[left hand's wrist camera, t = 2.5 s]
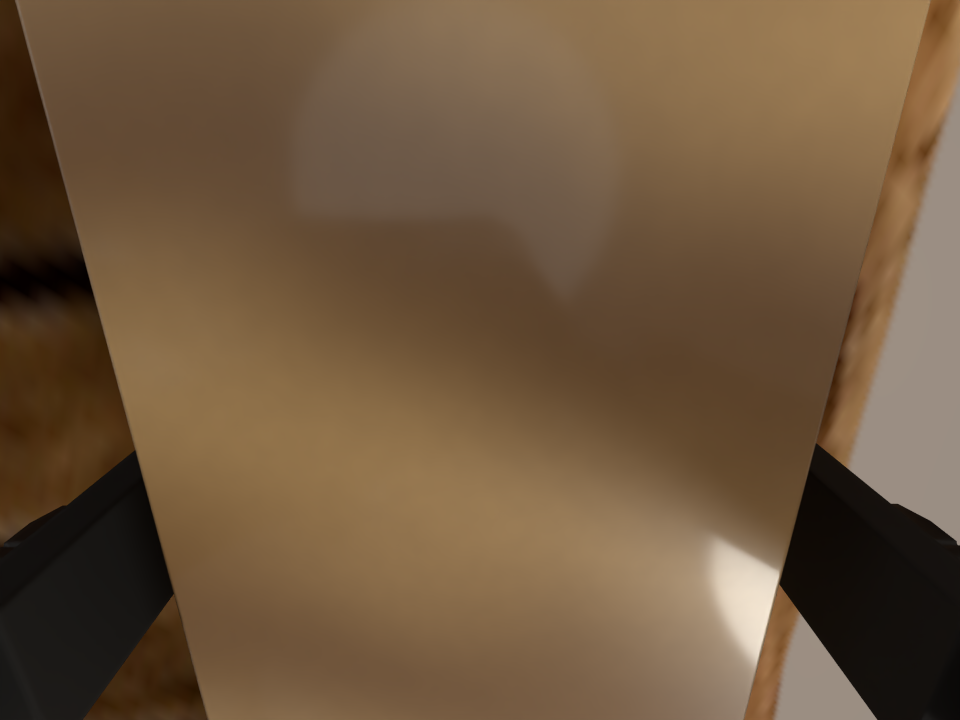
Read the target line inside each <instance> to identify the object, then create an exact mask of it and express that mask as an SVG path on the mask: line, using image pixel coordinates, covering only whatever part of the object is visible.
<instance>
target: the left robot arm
mask: <svg viewBox="0 0 960 720" xmlns="http://www.w3.org/2000/svg"><path fill="white" fill-rule="evenodd" d="M779 584H780V586H781V587H782V589H783V590H784V591H785V593H786V594H787V595H788V597H789V598H790V600H791V601H792V602H793V604H794V605H795V606H796V608H797V609H798V611H799V612H800V613H801V615H802V616H803V618H804V619H805V620H806V622H807V623H808V624H809V626H810V627H811V629H812V630H813V631H814V633H815V634H816V636H817V637H818V638H819V640H820V641H821V642H822V644H823V645H824V647H825V648H826V649H827V651H828V652H829V653H830V655H831V656H832V658H833V659H834V660H835V662H836V663H837V664H838V666H839V667H840V669H841V670H842V671H843V673H844V674H845V675H846V677H847V678H848V680H849V681H850V682H851V684H852V685H853V687H854V688H855V689H856V691H857V692H858V694H859V695H860V696H861V698H862V699H863V700H864V702H865V703H866V704H867V706H868V707H869V709H870V710H871V711H872V713H873V714H874V716H875V717H876V718H877V720H960V545H957V541H956V540H954V539H953V538H952V537H950V536H949V535H948V534H947V533H945V532H944V531H943V530H941V529H940V528H939V527H938V526H936V525H935V524H934V523H932V522H931V521H930V520H928V519H926V518H924V517H922V516H920V515H918V514H916V513H914V512H912V511H910V510H908V509H907V508H905V507H903V506H901V505H899V504H890V503H889V502H888V501H887V500H886V499H884V498H883V497H882V496H881V495H879V494H878V493H877V492H876V491H874V490H873V489H872V488H871V487H869V486H868V485H867V484H866V483H865V482H863V481H862V480H861V479H860V478H858V477H857V476H856V475H855V474H853V473H852V472H851V471H850V470H849V469H847V468H846V467H845V466H844V465H842V464H841V463H840V462H839V461H837V460H836V459H835V458H834V457H833V456H831V455H830V454H829V453H828V452H826V451H825V450H824V449H823V448H821V447H820V446H819V445H818V444H817V443H816V444H815V448H814V452H813V456H812V460H811V464H810V468H809V471H808V475H807V479H806V483H805V487H804V491H803V494H802V498H801V502H800V506H799V510H798V514H797V518H796V521H795V525H794V529H793V533H792V537H791V541H790V545H789V548H788V552H787V556H786V560H785V564H784V568H783V572H782V575H781V579H780V583H779ZM173 594H174V592H173V588H172V585H171V581H170V577H169V573H168V570H167V566H166V562H165V558H164V555H163V551H162V547H161V543H160V540H159V536H158V532H157V529H156V525H155V521H154V517H153V514H152V510H151V506H150V502H149V499H148V495H147V491H146V487H145V484H144V480H143V476H142V473H141V469H140V465H139V461H138V458H137V454H136V450H135V451H134V452H132V453H131V454H130V455H129V456H127V457H126V458H125V459H124V460H123V461H121V462H120V463H119V464H118V465H116V466H115V467H114V468H113V469H111V470H110V471H109V472H108V473H106V474H105V475H104V476H103V477H102V478H100V479H99V480H98V481H97V482H95V483H94V484H93V485H92V486H90V487H89V488H88V489H87V490H86V491H84V492H83V493H82V494H81V495H79V496H78V497H77V498H76V499H74V500H73V501H72V502H71V503H70V504H68V505H67V506H61V507H59V508H57V509H56V510H54V511H52V512H50V513H48V514H46V515H44V516H42V517H40V518H38V519H37V520H35V521H33V522H31V523H29V524H28V525H27V526H26V527H24V528H23V529H22V530H20V531H19V532H18V533H17V534H15V535H14V536H13V537H11V538H10V539H9V540H8V541H6V542H5V543H4V547H0V720H83V718H84V717H85V716H86V714H87V713H88V711H89V710H90V709H91V707H92V706H93V705H94V703H95V702H96V700H97V699H98V698H99V696H100V695H101V694H102V692H103V691H104V689H105V688H106V687H107V685H108V684H109V682H110V681H111V680H112V678H113V677H114V676H115V674H116V673H117V671H118V670H119V669H120V667H121V666H122V665H123V663H124V662H125V660H126V659H127V658H128V656H129V655H130V653H131V652H132V651H133V649H134V648H135V647H136V645H137V644H138V642H139V641H140V640H141V638H142V637H143V635H144V634H145V633H146V631H147V630H148V629H149V627H150V626H151V624H152V623H153V622H154V620H155V619H156V618H157V616H158V615H159V613H160V612H161V611H162V609H163V608H164V606H165V605H166V604H167V602H168V601H169V600H170V598H171V597H172V595H173Z"/></svg>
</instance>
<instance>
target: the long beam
mask: <svg viewBox="0 0 960 720" xmlns="http://www.w3.org/2000/svg"><path fill="white" fill-rule="evenodd" d="M930 1H931V0H15V2H16V6H17V10H18V14H19V17H20V21H21V25H22V28H23V32H24V36H25V40H26V43H27V47H28V51H29V55H30V58H31V62H32V66H33V69H34V73H35V77H36V81H37V84H38V88H39V92H40V96H41V99H42V103H43V107H44V111H45V114H46V118H47V122H48V125H49V129H50V133H51V137H52V140H53V144H54V148H55V152H56V155H57V159H58V163H59V167H60V170H61V174H62V178H63V181H64V185H65V189H66V193H67V196H68V200H69V204H70V208H71V211H72V215H73V219H74V223H75V226H76V230H77V234H78V237H79V241H80V245H81V249H82V252H83V256H84V260H85V264H86V267H87V271H88V275H89V278H90V282H91V286H92V290H93V293H94V297H95V301H96V305H97V308H98V312H99V316H100V320H101V323H102V327H103V331H104V334H105V338H106V342H107V346H108V349H109V353H110V357H111V361H112V364H113V368H114V372H115V376H116V379H117V383H118V387H119V390H120V394H121V398H122V402H123V405H124V409H125V413H126V417H127V420H128V424H129V428H130V431H131V435H132V439H133V443H134V446H135V450H136V454H137V458H138V461H139V465H140V469H141V473H142V476H143V480H144V484H145V487H146V491H147V495H148V499H149V502H150V506H151V510H152V514H153V517H154V521H155V525H156V529H157V532H158V536H159V540H160V543H161V547H162V551H163V555H164V558H165V562H166V566H167V570H168V573H169V577H170V581H171V585H172V588H173V592H174V596H175V599H176V603H177V607H178V611H179V614H180V618H181V622H182V626H183V629H184V633H185V637H186V640H187V644H188V648H189V652H190V655H191V659H192V663H193V667H194V670H195V674H196V678H197V682H198V685H199V689H200V693H201V696H202V700H203V704H204V708H205V711H206V715H207V719H208V720H744V718H745V714H746V710H747V706H748V702H749V699H750V695H751V691H752V687H753V683H754V679H755V676H756V672H757V668H758V664H759V660H760V656H761V652H762V649H763V645H764V641H765V637H766V633H767V629H768V625H769V622H770V618H771V614H772V610H773V606H774V602H775V598H776V595H777V591H778V587H779V583H780V579H781V575H782V572H783V568H784V564H785V560H786V556H787V552H788V548H789V545H790V541H791V537H792V533H793V529H794V525H795V521H796V518H797V514H798V510H799V506H800V502H801V498H802V494H803V491H804V487H805V483H806V479H807V475H808V471H809V468H810V464H811V460H812V456H813V452H814V448H815V444H816V441H817V437H818V433H819V429H820V425H821V421H822V417H823V414H824V410H825V406H826V402H827V398H828V394H829V390H830V387H831V383H832V379H833V375H834V371H835V367H836V364H837V360H838V356H839V352H840V348H841V344H842V340H843V337H844V333H845V329H846V325H847V321H848V317H849V313H850V310H851V306H852V302H853V298H854V294H855V290H856V287H857V283H858V279H859V275H860V271H861V267H862V263H863V260H864V256H865V252H866V248H867V244H868V240H869V236H870V233H871V229H872V225H873V221H874V217H875V213H876V209H877V206H878V202H879V198H880V194H881V190H882V186H883V183H884V179H885V175H886V171H887V167H888V163H889V159H890V156H891V152H892V148H893V144H894V140H895V136H896V132H897V129H898V125H899V121H900V117H901V113H902V109H903V105H904V102H905V98H906V94H907V90H908V86H909V82H910V79H911V75H912V71H913V67H914V63H915V59H916V55H917V52H918V48H919V44H920V40H921V36H922V32H923V28H924V25H925V21H926V17H927V13H928V9H929V5H930Z"/></svg>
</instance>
